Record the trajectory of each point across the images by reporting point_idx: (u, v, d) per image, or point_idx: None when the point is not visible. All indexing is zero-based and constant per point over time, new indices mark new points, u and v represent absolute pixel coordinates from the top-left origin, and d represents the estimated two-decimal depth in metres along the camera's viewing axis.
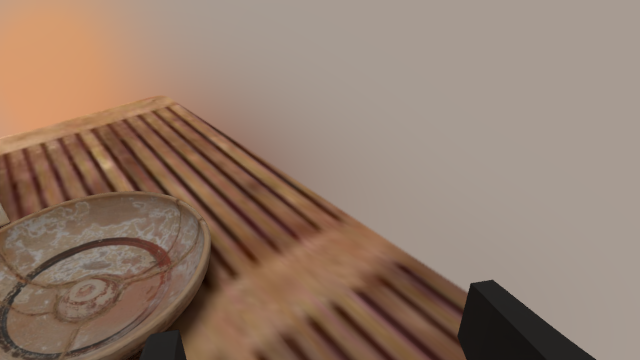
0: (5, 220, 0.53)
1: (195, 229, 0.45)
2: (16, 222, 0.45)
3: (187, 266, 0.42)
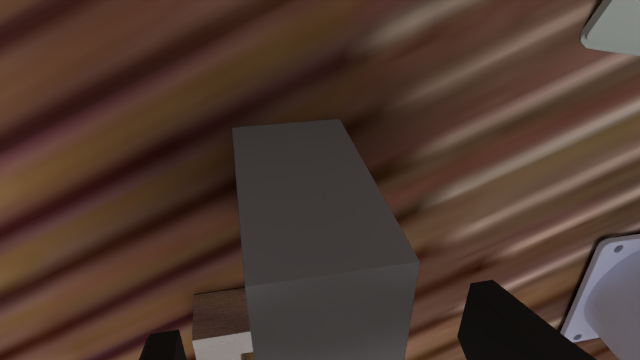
0: None
1: None
2: None
3: None
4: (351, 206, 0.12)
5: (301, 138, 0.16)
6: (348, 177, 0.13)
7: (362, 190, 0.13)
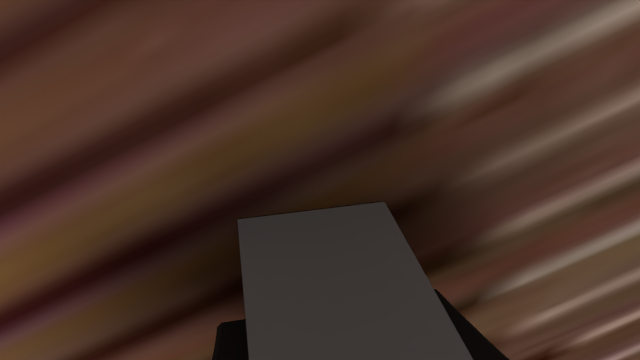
0: None
1: None
2: None
3: None
4: None
5: (336, 240, 0.11)
6: (416, 325, 0.09)
7: (443, 355, 0.08)
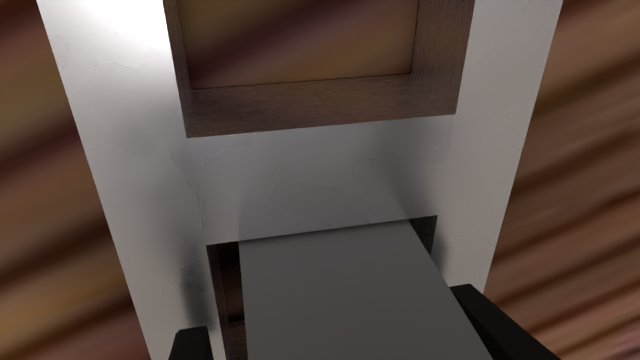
0: None
1: None
2: None
3: None
4: (418, 330, 0.08)
5: None
6: (404, 273, 0.09)
7: (429, 298, 0.09)
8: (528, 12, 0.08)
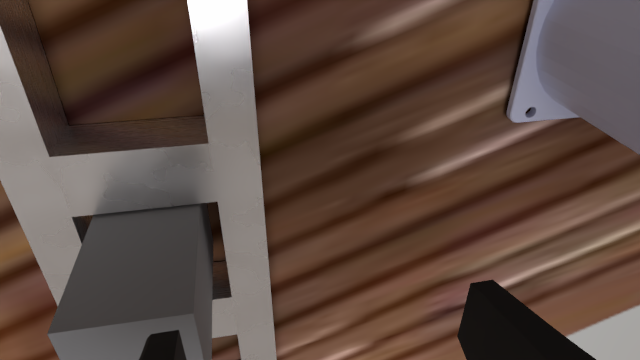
0: None
1: None
2: None
3: None
4: (166, 261, 0.15)
5: None
6: (178, 234, 0.16)
7: (183, 246, 0.16)
8: (234, 90, 0.16)
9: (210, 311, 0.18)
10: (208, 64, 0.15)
